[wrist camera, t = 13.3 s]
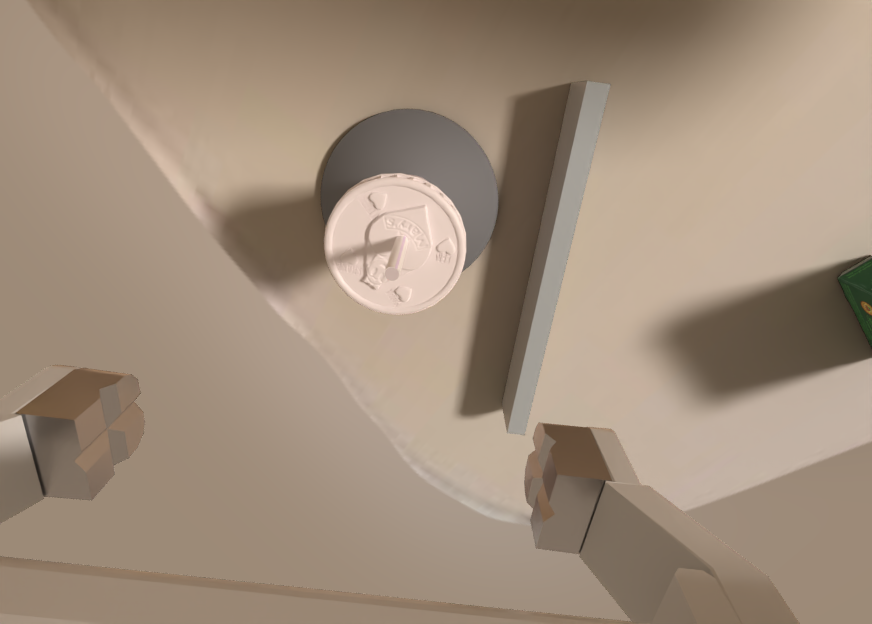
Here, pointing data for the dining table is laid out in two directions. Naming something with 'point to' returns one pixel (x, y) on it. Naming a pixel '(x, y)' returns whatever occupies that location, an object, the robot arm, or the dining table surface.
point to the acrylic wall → (553, 246)
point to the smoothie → (395, 243)
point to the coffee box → (860, 293)
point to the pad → (419, 166)
